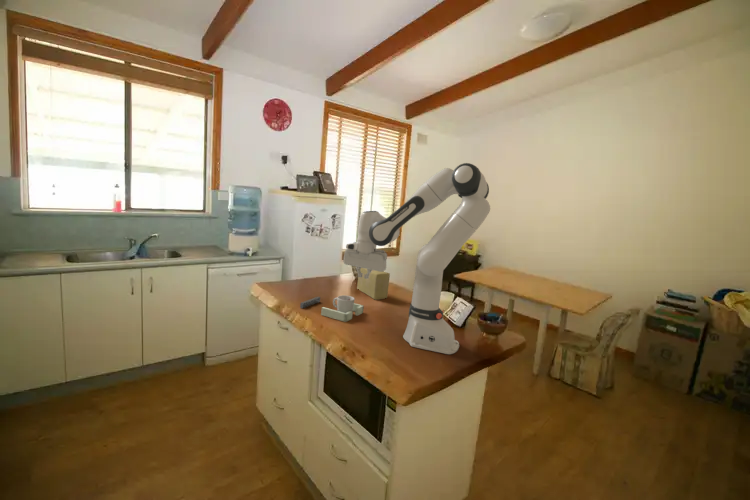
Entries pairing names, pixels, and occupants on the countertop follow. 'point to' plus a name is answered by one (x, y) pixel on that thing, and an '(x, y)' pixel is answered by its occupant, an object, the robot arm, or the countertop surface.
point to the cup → (344, 303)
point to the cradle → (341, 315)
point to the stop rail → (309, 302)
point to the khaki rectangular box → (374, 284)
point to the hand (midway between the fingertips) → (363, 277)
